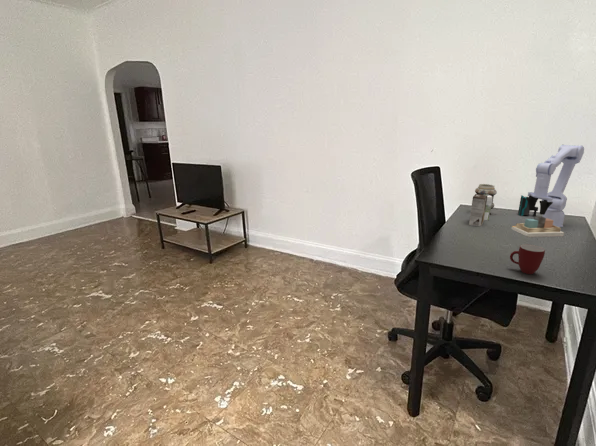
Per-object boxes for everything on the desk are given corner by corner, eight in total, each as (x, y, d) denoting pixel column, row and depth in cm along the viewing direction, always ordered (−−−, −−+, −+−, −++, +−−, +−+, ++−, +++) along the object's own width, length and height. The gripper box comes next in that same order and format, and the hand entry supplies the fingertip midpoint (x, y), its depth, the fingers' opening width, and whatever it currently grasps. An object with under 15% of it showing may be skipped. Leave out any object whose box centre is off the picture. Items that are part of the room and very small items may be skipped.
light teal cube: (531, 226, 178) (532, 218, 177) (536, 228, 174) (538, 220, 173) (523, 226, 178) (525, 218, 176) (529, 228, 174) (530, 221, 173)
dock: (545, 229, 183) (546, 225, 183) (563, 236, 172) (564, 232, 171) (511, 229, 182) (512, 226, 181) (527, 237, 171) (528, 233, 170)
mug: (507, 272, 132) (511, 247, 129) (508, 264, 138) (512, 241, 136) (540, 278, 127) (545, 253, 124) (539, 270, 133) (544, 246, 130)
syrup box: (484, 218, 203) (488, 194, 199) (488, 221, 198) (492, 196, 194) (474, 218, 204) (478, 194, 200) (478, 220, 198) (482, 196, 194)
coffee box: (471, 221, 198) (475, 193, 193) (483, 222, 195) (488, 195, 190) (468, 224, 191) (472, 196, 186) (481, 226, 187) (485, 198, 183)
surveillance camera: (542, 198, 200) (522, 197, 204) (538, 218, 203) (518, 216, 207) (540, 196, 204) (521, 195, 209) (536, 216, 208) (517, 214, 212)
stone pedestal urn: (497, 216, 208) (502, 186, 203) (477, 216, 208) (481, 187, 203) (486, 211, 220) (490, 183, 214) (467, 211, 220) (471, 183, 214)
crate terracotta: (545, 225, 178) (547, 218, 177) (551, 228, 174) (553, 220, 173) (538, 225, 178) (540, 218, 177) (544, 228, 174) (546, 220, 173)
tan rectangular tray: (546, 226, 181) (549, 214, 179) (559, 231, 173) (562, 219, 171) (515, 227, 180) (517, 215, 178) (527, 232, 172) (530, 220, 170)
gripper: (524, 184, 181) (519, 209, 185) (545, 189, 167) (539, 216, 171) (536, 183, 181) (532, 208, 185) (558, 189, 167) (553, 216, 171)
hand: (536, 212), depth 178 cm, fingers open, 7 cm apart
